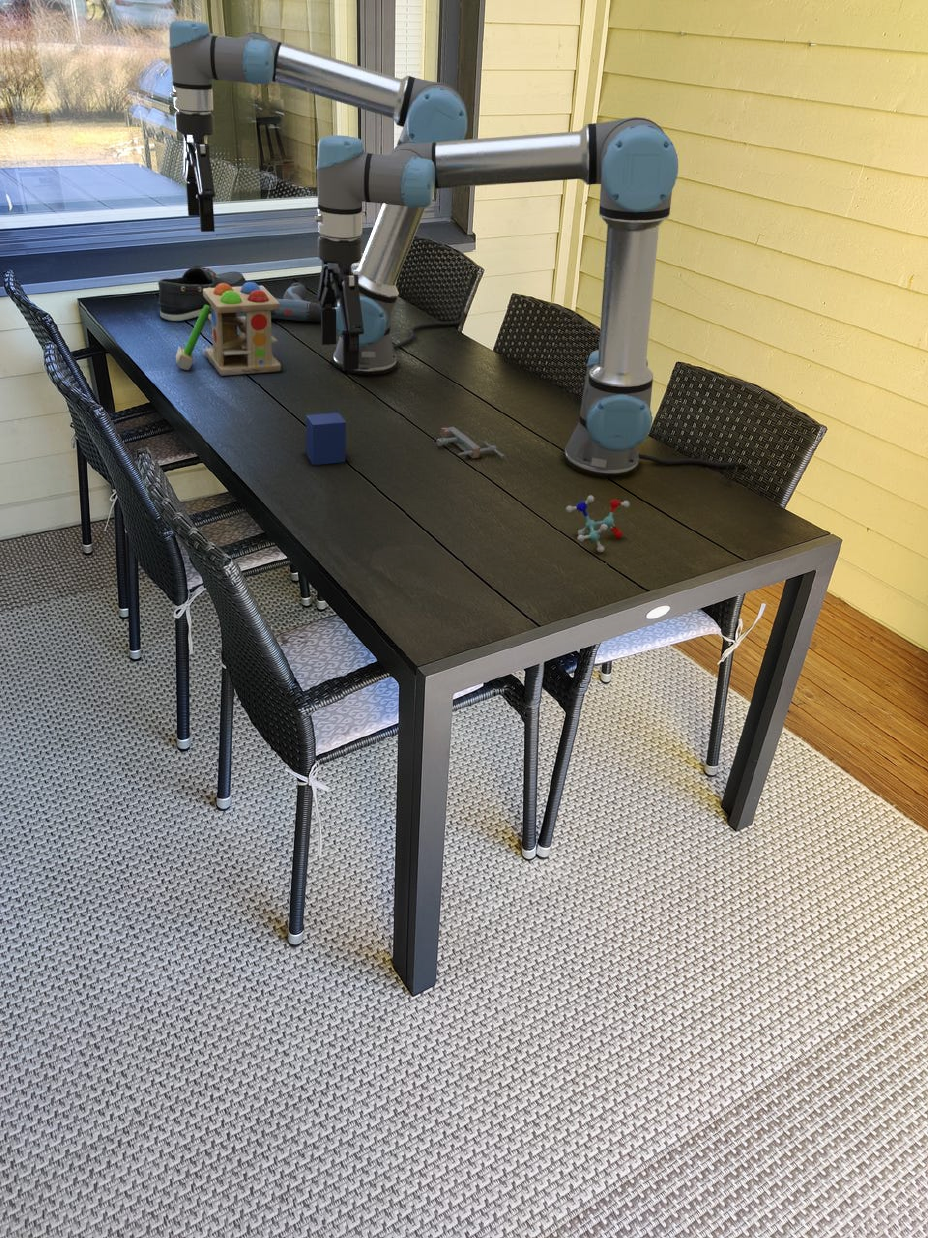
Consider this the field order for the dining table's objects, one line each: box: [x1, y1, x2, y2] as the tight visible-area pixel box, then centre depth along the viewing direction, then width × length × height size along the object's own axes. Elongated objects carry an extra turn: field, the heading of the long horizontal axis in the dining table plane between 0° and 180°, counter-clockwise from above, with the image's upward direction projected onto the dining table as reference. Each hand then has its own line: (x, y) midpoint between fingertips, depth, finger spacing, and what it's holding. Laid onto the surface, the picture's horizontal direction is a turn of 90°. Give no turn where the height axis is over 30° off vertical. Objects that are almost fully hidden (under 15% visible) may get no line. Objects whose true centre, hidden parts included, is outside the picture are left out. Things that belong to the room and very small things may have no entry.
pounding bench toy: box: [174, 281, 282, 377], centre depth 225 cm, size 23×14×18 cm, turn 116°
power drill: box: [271, 282, 335, 322], centre depth 265 cm, size 5×19×20 cm
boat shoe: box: [157, 265, 247, 322], centre depth 263 cm, size 13×33×10 cm, turn 147°
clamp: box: [436, 426, 507, 460], centre depth 201 cm, size 15×2×10 cm
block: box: [305, 412, 347, 466], centre depth 191 cm, size 5×6×8 cm
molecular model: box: [565, 495, 630, 554], centre depth 173 cm, size 12×10×10 cm
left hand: (201, 223), depth 207 cm, fingers open, 13 cm apart
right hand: (339, 356), depth 181 cm, fingers open, 13 cm apart
